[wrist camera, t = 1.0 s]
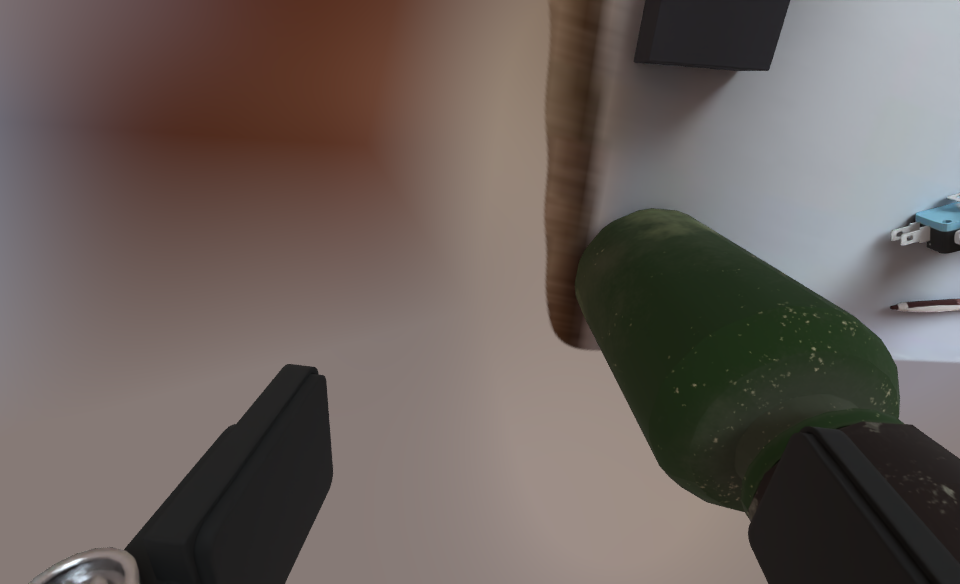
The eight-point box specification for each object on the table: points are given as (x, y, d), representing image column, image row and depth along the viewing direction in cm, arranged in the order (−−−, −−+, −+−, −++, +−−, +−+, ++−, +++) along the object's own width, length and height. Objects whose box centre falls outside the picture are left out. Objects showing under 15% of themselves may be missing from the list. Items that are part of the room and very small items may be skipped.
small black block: (657, -65, 27) (678, -86, 23) (775, -57, 27) (814, -77, 23) (633, 62, 30) (648, 61, 26) (739, 70, 29) (769, 70, 26)
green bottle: (614, 184, 32) (982, 446, 9) (742, 235, 34) (1313, 560, 11) (550, 313, 36) (700, 720, 13) (668, 353, 38) (979, 770, 15)
